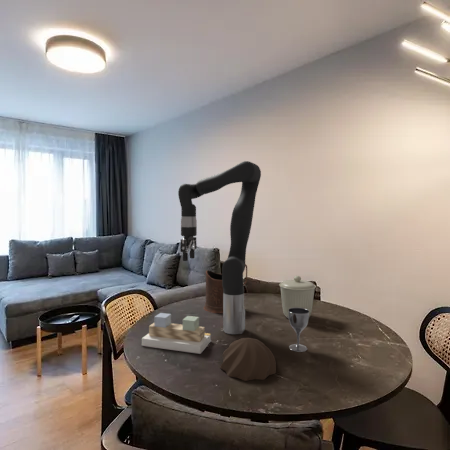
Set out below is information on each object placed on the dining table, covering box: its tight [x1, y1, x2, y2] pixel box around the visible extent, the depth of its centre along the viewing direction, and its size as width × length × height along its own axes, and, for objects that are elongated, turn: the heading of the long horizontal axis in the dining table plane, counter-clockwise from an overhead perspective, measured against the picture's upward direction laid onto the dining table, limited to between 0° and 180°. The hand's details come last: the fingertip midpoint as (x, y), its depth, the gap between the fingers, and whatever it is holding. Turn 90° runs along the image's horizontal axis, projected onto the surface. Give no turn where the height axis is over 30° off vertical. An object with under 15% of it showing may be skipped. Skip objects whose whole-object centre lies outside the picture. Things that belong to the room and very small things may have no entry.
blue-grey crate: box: [153, 312, 172, 328], centre depth 134 cm, size 5×5×4 cm
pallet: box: [148, 322, 206, 342], centre depth 132 cm, size 22×6×4 cm, turn 74°
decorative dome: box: [219, 337, 277, 382], centre depth 114 cm, size 19×20×10 cm
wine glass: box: [288, 307, 310, 353], centre depth 129 cm, size 8×8×15 cm
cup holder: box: [203, 263, 248, 314], centre depth 179 cm, size 18×24×25 cm
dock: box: [141, 332, 212, 355], centre depth 133 cm, size 25×12×3 cm, turn 74°
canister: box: [278, 275, 317, 319], centre depth 165 cm, size 18×18×21 cm
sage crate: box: [182, 315, 200, 331], centre depth 130 cm, size 5×5×4 cm
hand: (188, 259), depth 158 cm, fingers open, 8 cm apart
